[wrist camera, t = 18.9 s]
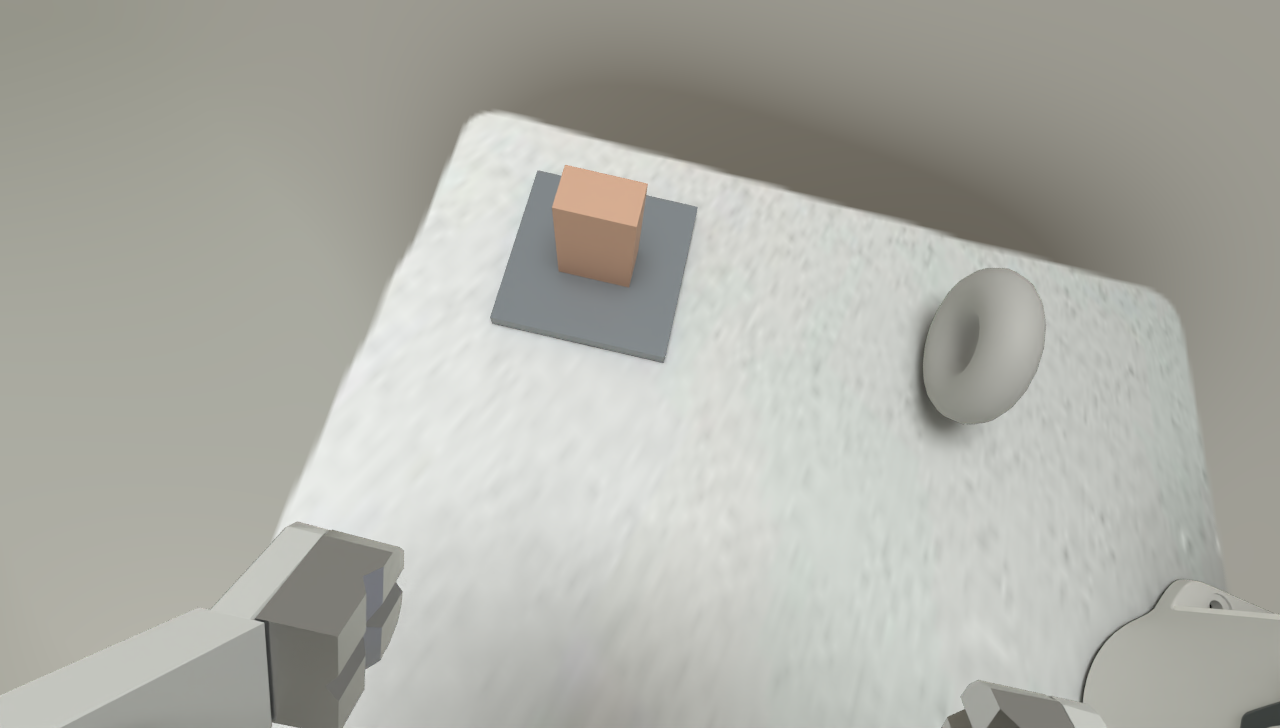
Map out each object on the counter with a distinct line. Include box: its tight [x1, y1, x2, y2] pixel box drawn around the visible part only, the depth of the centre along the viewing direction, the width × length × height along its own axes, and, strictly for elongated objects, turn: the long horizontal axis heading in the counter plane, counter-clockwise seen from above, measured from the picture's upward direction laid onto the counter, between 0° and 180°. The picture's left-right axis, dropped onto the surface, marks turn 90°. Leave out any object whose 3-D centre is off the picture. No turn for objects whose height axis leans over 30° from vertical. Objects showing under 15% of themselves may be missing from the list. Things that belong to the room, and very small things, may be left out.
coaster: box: [490, 171, 698, 362], centre depth 45 cm, size 12×12×1 cm
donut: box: [923, 268, 1046, 424], centre depth 40 cm, size 10×4×10 cm, turn 169°
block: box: [552, 165, 648, 287], centre depth 41 cm, size 5×3×8 cm, turn 78°
